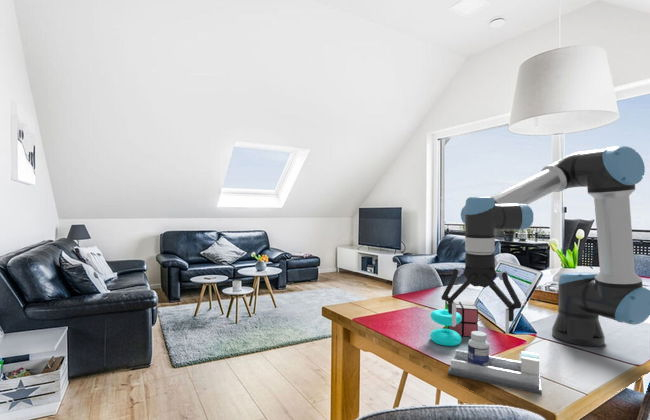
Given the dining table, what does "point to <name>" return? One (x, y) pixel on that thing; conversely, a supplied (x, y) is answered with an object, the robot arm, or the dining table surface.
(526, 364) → the block
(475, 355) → the pill bottle
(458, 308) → the puzzle cube
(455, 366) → the rail plate
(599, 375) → the dining table surface
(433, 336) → the donuts
